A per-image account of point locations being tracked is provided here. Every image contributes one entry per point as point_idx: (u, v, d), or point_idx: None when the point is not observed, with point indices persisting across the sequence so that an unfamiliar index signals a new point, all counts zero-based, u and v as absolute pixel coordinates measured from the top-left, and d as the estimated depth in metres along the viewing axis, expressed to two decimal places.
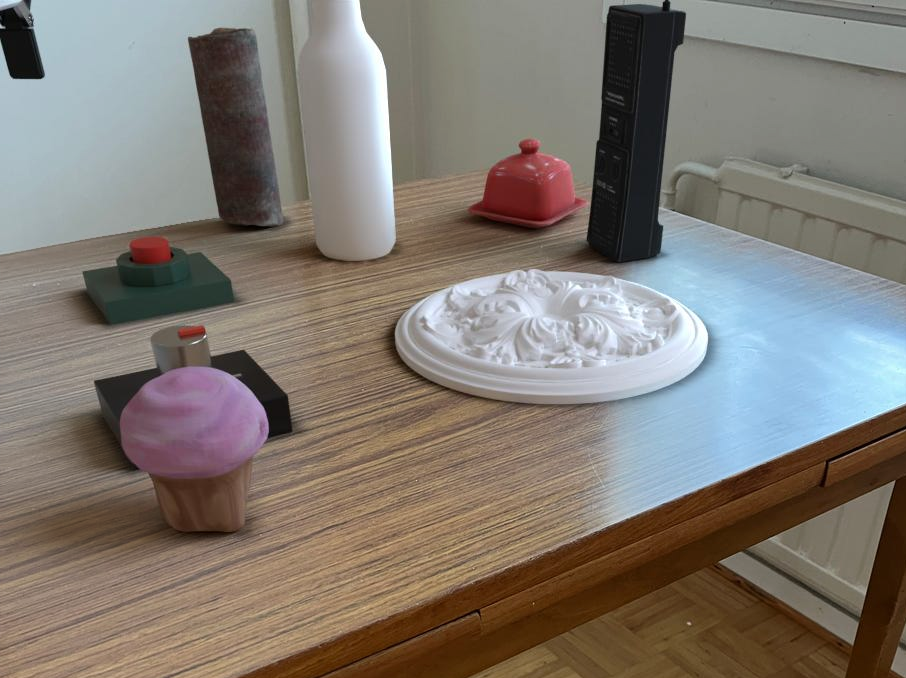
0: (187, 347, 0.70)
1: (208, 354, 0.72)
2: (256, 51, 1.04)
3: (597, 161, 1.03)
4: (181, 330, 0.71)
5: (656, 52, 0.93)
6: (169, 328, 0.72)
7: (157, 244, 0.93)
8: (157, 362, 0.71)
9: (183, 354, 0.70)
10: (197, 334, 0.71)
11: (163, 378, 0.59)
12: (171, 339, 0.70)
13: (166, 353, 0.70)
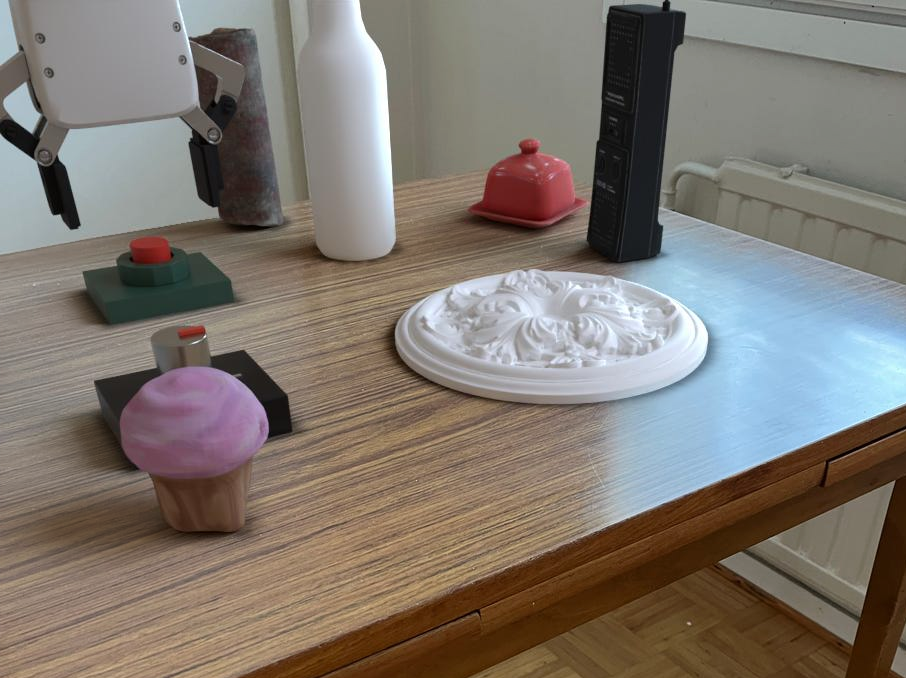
0: (187, 347, 0.70)
1: (208, 354, 0.72)
2: (256, 51, 1.04)
3: (597, 161, 1.03)
4: (181, 330, 0.71)
5: (656, 52, 0.93)
6: (169, 328, 0.72)
7: (157, 244, 0.93)
8: (157, 362, 0.71)
9: (183, 354, 0.70)
10: (197, 334, 0.71)
11: (163, 378, 0.59)
12: (171, 339, 0.70)
13: (166, 353, 0.70)
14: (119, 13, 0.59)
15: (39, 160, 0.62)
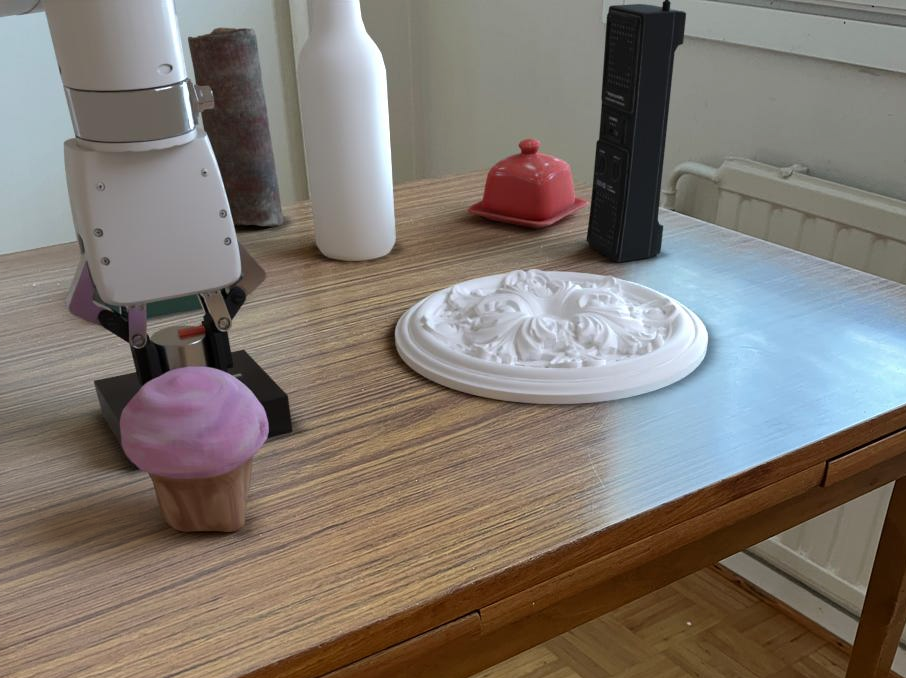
0: (187, 347, 0.70)
1: (208, 354, 0.72)
2: (256, 51, 1.04)
3: (597, 161, 1.03)
4: (181, 330, 0.71)
5: (656, 52, 0.93)
6: (169, 328, 0.72)
7: None
8: None
9: (183, 354, 0.70)
10: (197, 334, 0.71)
11: (163, 378, 0.59)
12: (171, 339, 0.70)
13: (166, 353, 0.70)
14: (171, 207, 0.64)
15: (136, 345, 0.69)
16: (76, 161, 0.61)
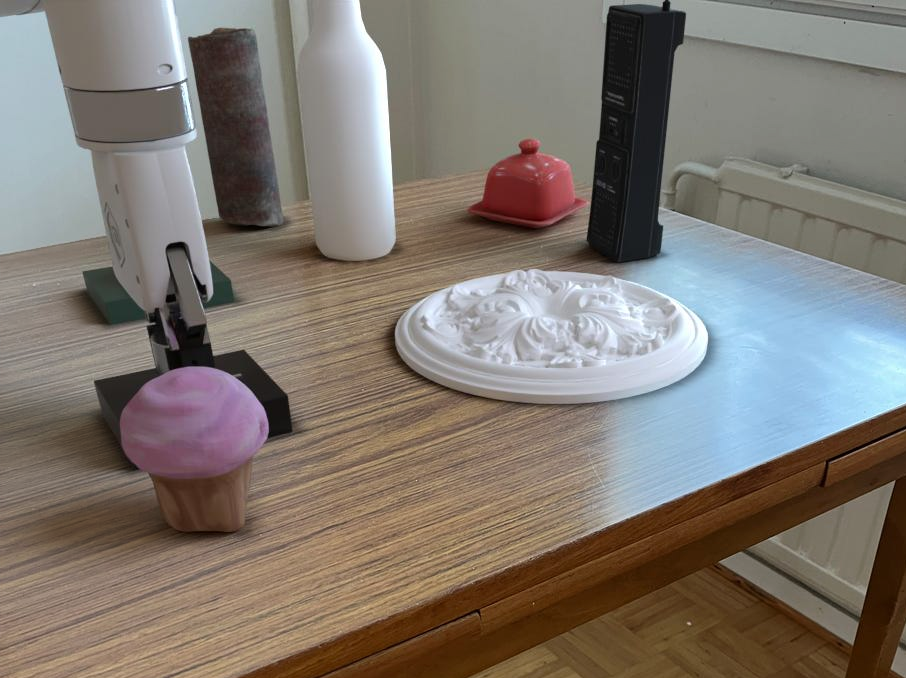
0: None
1: None
2: (256, 51, 1.04)
3: (597, 161, 1.03)
4: None
5: (656, 52, 0.93)
6: (157, 340, 0.70)
7: None
8: None
9: None
10: None
11: (163, 378, 0.59)
12: None
13: None
14: None
15: None
16: (178, 160, 0.61)
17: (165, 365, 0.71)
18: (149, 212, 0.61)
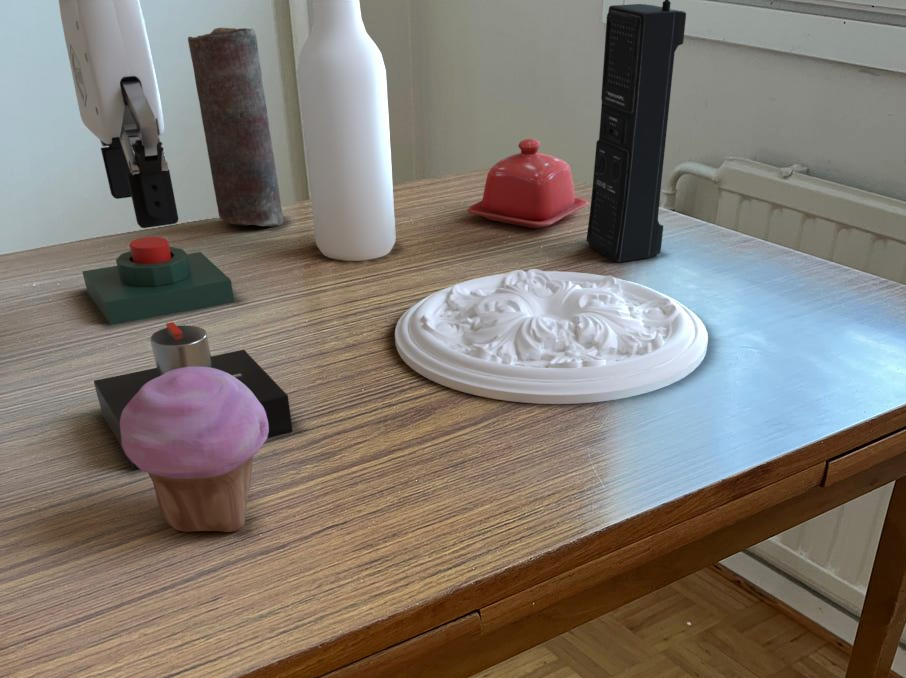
0: (205, 332, 0.72)
1: None
2: (256, 51, 1.04)
3: (597, 161, 1.03)
4: (176, 330, 0.71)
5: (656, 52, 0.93)
6: (157, 340, 0.70)
7: (157, 244, 0.93)
8: (196, 363, 0.71)
9: None
10: (181, 328, 0.72)
11: (163, 378, 0.59)
12: (188, 336, 0.71)
13: (205, 345, 0.71)
14: None
15: None
16: (130, 0, 0.70)
17: (165, 365, 0.71)
18: (105, 46, 0.71)
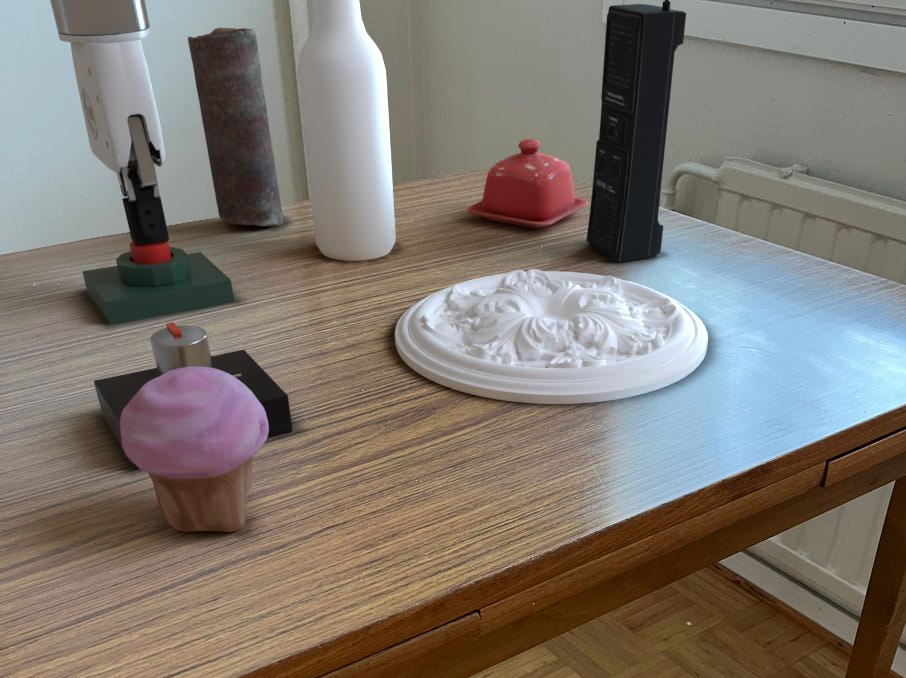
0: (205, 332, 0.72)
1: None
2: (256, 51, 1.04)
3: (597, 161, 1.03)
4: (176, 330, 0.71)
5: (656, 52, 0.93)
6: (157, 340, 0.70)
7: (157, 244, 0.93)
8: (196, 363, 0.71)
9: None
10: (181, 328, 0.72)
11: (163, 378, 0.59)
12: (188, 336, 0.71)
13: (205, 345, 0.71)
14: None
15: None
16: (135, 49, 0.81)
17: (165, 365, 0.71)
18: (114, 89, 0.81)
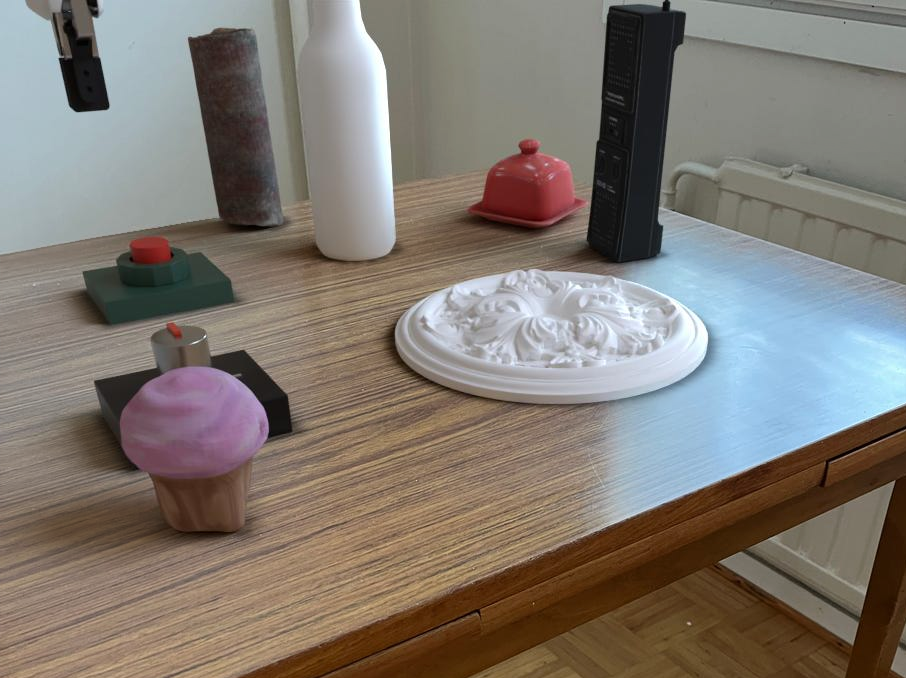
0: (205, 332, 0.72)
1: None
2: (256, 51, 1.04)
3: (597, 161, 1.03)
4: (176, 330, 0.71)
5: (656, 52, 0.93)
6: (157, 340, 0.70)
7: (157, 244, 0.93)
8: (196, 363, 0.71)
9: None
10: (181, 328, 0.72)
11: (163, 378, 0.59)
12: (188, 336, 0.71)
13: (205, 345, 0.71)
14: None
15: None
16: None
17: (165, 365, 0.71)
18: None
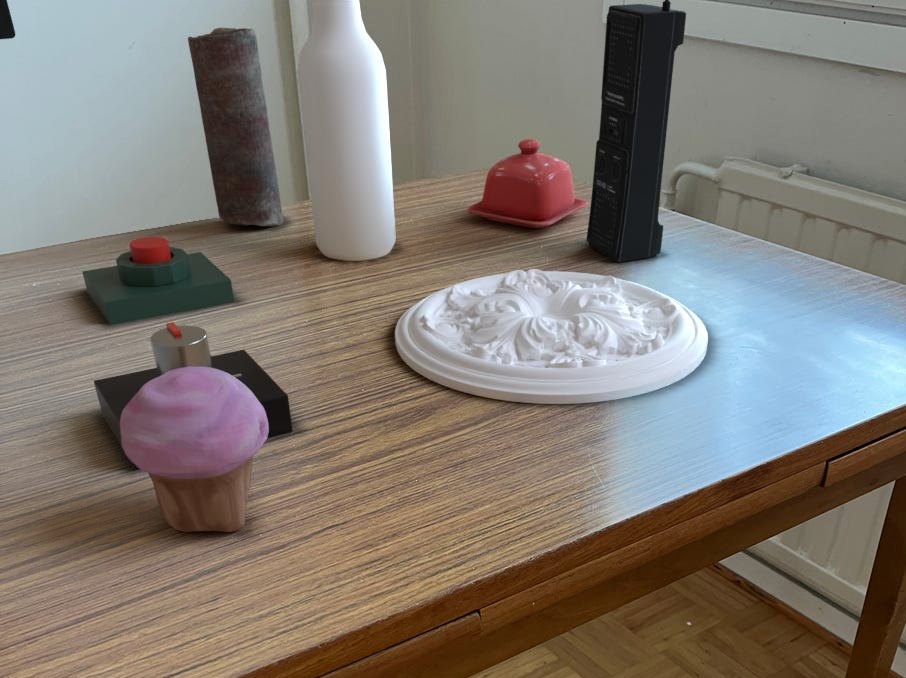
0: (205, 332, 0.72)
1: None
2: (256, 51, 1.04)
3: (597, 161, 1.03)
4: (176, 330, 0.71)
5: (656, 52, 0.93)
6: (157, 340, 0.70)
7: (157, 244, 0.93)
8: (196, 363, 0.71)
9: None
10: (181, 328, 0.72)
11: (163, 378, 0.59)
12: (188, 336, 0.71)
13: (205, 345, 0.71)
14: None
15: None
16: None
17: (165, 365, 0.71)
18: None
